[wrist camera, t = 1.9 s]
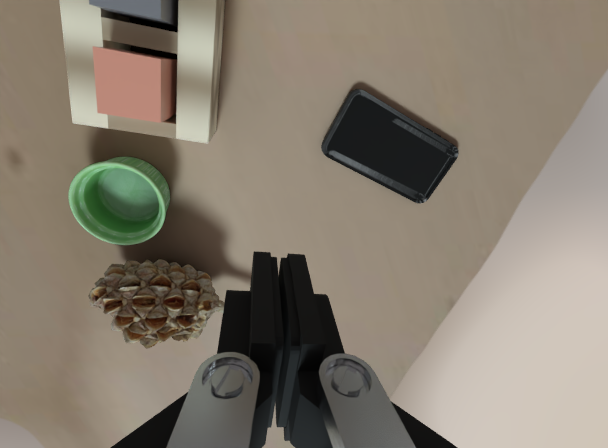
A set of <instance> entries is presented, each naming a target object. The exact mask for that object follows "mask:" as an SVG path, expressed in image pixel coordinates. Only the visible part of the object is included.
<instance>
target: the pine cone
mask: <svg viewBox="0 0 608 448" xmlns="http://www.w3.org/2000/svg"><path fill="white" fill-rule="evenodd" d="M95 286H96V288H93V289H92V290H91V292H90V294H89V299H90V306H91V307H97V308H99V309H103V310H104V313H105V314H108V313H109V314H110V315H111V316H113V321H112V323H111V330H115V331H123V337H124V340H125V342H126V343H135V342H139V341H140V343H141V344H142V345H143V346H144V347H145V348H150V347H152V346H154V345H155V344H156V343H157V342H159V343H161V342H162V341H165V340H167V339H169V338H170V337H172V338H173V339H174V340H177V341H180V340H181V339H182V340H183V342H184V341H187V340H188V339H189V338H198V337H199V336H200V334H201V333H202V328H204V327H205V326H206V323H207V320H208V319H209V317H211V315H212V314H213V313H214V312H215V311H217V312H221V313H223V311H224V304H225V303H224V302H223V301H221V300H219V296H218V295H216V294H215V289H214V288H213V287H212V282H211V278H210V276H209V275H208V274H207V273H205V272H203V271H198V272H197V271H196V270H195V269H194V268H193V267H191V266H190V265H189V264H188V265H185V266H183V268H181V266H180V265H179V264H177V263H176V262H173V263H170V264H168V263H167V262H166V261H165V260H161V259H159V260H157V261H156V262H154V263H153V262H151V261H150V260H147V259H146V261H145V262H144V263H142V264H140V263H139V262H137V261H127V262H126V263H125V265H123V264H112V265H111V266H110V267H109V268H108V269H107V271H106V272H105V278H100V279H99V280H98V281H97V282H96V283H95Z"/></svg>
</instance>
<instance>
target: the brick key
mask: <svg viewBox="0 0 608 448" xmlns="http://www.w3.org/2000/svg"><path fill="white" fill-rule="evenodd" d="M92 47H93V60H94V73H95V86H96V99H97V112H98V113H101V114H107V115H113V116H120V117H126V118H133V119H139V120H145V121H152V122H158V123H161V122H163V121H165V120H167V119H168V118H170V117H172V116H173V115H175V114H176V109H177V60H176V59H171V58H165V57H160V56H155V55H150V54H144V53H139V52H134V51H129V50H124V49H115V48H105V47H95V46H92Z"/></svg>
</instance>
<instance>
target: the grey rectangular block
mask: <svg viewBox="0 0 608 448" xmlns="http://www.w3.org/2000/svg"><path fill="white" fill-rule="evenodd" d="M89 4H90V5H93V6H96V7H99V8H101V9H104V10H107V11H110V12H113V13H116V14H119V15H123V16H128V17H132V18H137V19H142V20H147V21H152V22H156V23H161V24H166V25H171V26H176V27H178V0H89Z"/></svg>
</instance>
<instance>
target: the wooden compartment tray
mask: <svg viewBox="0 0 608 448" xmlns="http://www.w3.org/2000/svg"><path fill="white" fill-rule="evenodd" d="M59 1H60V10H61V19H62V29H63V38H64V47H65V57H66V66H67V75H68V84H69V94H70V103H71V112H72V122H73V123H75V124H82V125H88V126H95V127H102V128H108V129H115V130H122V131H128V132H135V133H142V134H148V135H155V136H162V137H168V138H175V139H182V140H188V141H195V142H202V143H209V141H210V140H211V138H212V137H213V135H214V134H215V132H216V127H217V112H218V97H219V82H220V68H221V53H222V38H223V23H224V8H225V0H178V33H177V32H172V31H167V30H162V29H157V28H153V27H148V26H143V25H138V24H133V23H129V17H128V16H123V15H119V14H116V13H113V12H110V11H107V10H104V9H101V8H99V7H96V6H93V5H90V4H89V0H59ZM130 45H134V46H139V47H144V48H149V49H154V50H160V51H165V52H170V53H175V54H178V55H177V109H176V114H175V115H173V116H172V117H170V118H168V119H167V120H165V121H163V122H161V123H158V122H152V121H145V120H139V119H133V118H126V117H120V116H113V115H107V114H101V113H98V112H97V99H96V86H95V73H94V60H93V47H92V46H95V47H105V48H115V49H124V50H129V51H130Z"/></svg>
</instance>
